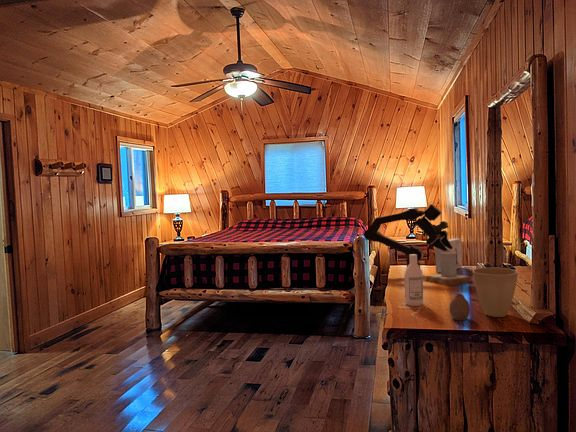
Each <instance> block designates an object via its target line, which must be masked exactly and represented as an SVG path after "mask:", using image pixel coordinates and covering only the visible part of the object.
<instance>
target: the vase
mask: <svg viewBox="0 0 576 432" xmlns="http://www.w3.org/2000/svg"><path fill="white" fill-rule="evenodd" d="M470 305H471V304H470V302H469V301H468V299H466V298H465V296H464V293H463V294H462V293H456V294H455V296H454V297H453V299H452V300H451V301H450V304H449V307H448V308H449V313H450V316H451V317H452V319H454V320H455V321H466V320H467V319H468V318H469V317H470V314H471V306H470Z"/></svg>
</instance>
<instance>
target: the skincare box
mask: <svg viewBox="0 0 576 432" xmlns="http://www.w3.org/2000/svg"><path fill="white" fill-rule="evenodd" d="M448 240H449V242H450V244H451V246H452V247H453V248H452V249H449V248H447V247H446V246H445V247H446V248H447V250H451V251H456V270H457V269H461V268H462V267H463V250H462V247H463V245H462V238H449V239H448ZM441 251H443V250H441V249H438V248H436V247H434V260H435V273H441Z"/></svg>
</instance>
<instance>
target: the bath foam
mask: <svg viewBox="0 0 576 432" xmlns="http://www.w3.org/2000/svg"><path fill="white" fill-rule="evenodd" d="M408 258H409V260H410V264H409V265H408V267H407V266H406V268H405V271H404V298H405V299H404V302H405V304H406V305H407V306H409V307H410V306H411V307H419V306H423V304H424V281H423V280H424V276H423V271H422V268H421V266H420V267H419V266H418V264H417V255H416V254H410V255H409V257H408Z"/></svg>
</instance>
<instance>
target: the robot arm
mask: <svg viewBox="0 0 576 432" xmlns="http://www.w3.org/2000/svg"><path fill="white" fill-rule="evenodd" d="M441 214H442V211H441V210H440V209H439V208H438V207H436V206H435V205H434V204H430V205H429V206H428V207H427V208H426V209H425V210H419V209H418V208H416V207H413V208H410V209H408V210H405V211H402V212H398V213H394V214H390V215H383V216H378V217H375V218H374V220H373V222H372V223H371V225H370V226H369V227H368V228H367V229H365V231H364V232H363V236H364V239H365V240H367V241H371V242H377V243H381V244H383V245H385V246H388V247H389V248H392V249H394V250H396V251H398V252H399V253H400V252H401V253H402V254H404V255H405V256H406V257H408V258H406V259H405V262H406V268H407V267H408V265H409V264H410V260H409V255H410V254H416V255H417V264H418V266H419V267H420V268H421V263H420V260H422V259H423V257H424V254H425V253H424V250H423V249H422V248H421V246H417V245H415V244H413V243H412V244H411V245H406V244H404V243H401V242H400V241H398V240H395V239H393V238H390V237H387V236H385V235H384V234H382V233H381V232H380V231H379V229H380V228H381V226H382V225H383V224H384V225H385V224H389V223H394V222H398V221H399V222H400V221H412V228H416V227H418V228H419V229H420V230H421V231H422V233H423V235H426V236H427V237H428V238H427V239H426V240H425V242H426V244H427V245H428V246H430V247H433V248H435V247H436V248H438V249H441V250H443V251H445V250H447V248H449V249H452V248H453V247H452V246H451V244H450V242H449V240H448V236H449V235H448V234H449V232H448V231H447V230H446V229H448V228H449V223H448V222H447V221H445V220H442V221H440V223H439V224H437V225H436V224H433V223H431V221H432V222H433V221H435V220H436V219H437V218H438V217H439V216H441ZM414 220H415V221H414ZM445 246H446V247H447V248H446V247H445Z"/></svg>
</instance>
